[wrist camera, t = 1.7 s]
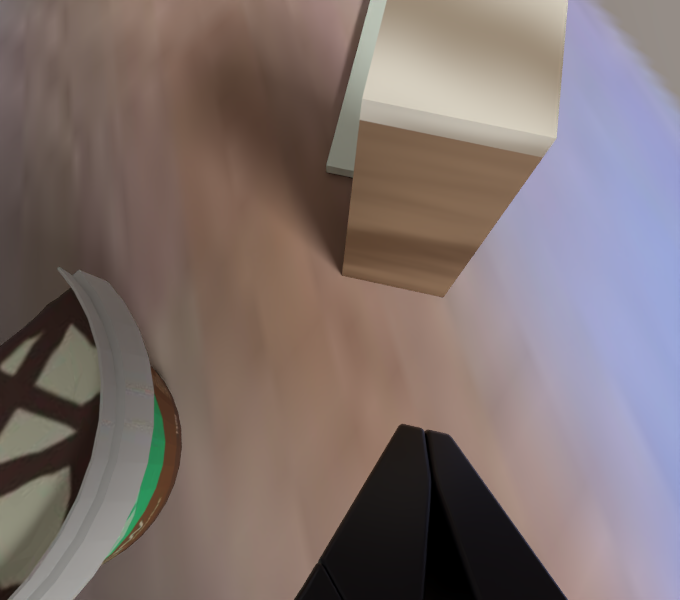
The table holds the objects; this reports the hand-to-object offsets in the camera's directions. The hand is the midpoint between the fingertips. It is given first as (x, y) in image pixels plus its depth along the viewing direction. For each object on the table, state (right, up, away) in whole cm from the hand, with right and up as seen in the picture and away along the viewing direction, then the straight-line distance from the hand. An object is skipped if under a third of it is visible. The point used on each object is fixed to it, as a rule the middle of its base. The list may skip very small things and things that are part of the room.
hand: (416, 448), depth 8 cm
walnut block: (+2, +5, +16) cm, 17 cm away
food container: (-11, -6, +12) cm, 17 cm away
